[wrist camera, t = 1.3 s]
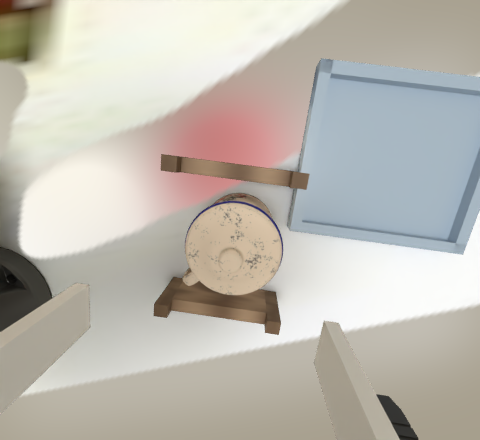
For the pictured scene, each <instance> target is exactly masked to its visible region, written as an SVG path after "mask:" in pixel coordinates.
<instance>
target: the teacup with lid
mask: <svg viewBox="0 0 480 440" xmlns="http://www.w3.org/2000/svg"><path fill="white" fill-rule="evenodd" d="M185 253H186V258H187V262H188V265H189V267H190V268H189V269H188V270H187V271H186V273H185V274H184V276H183V282H184V283H185V284H186V285H188V286H191V285H193V284H195V283H197V282H198V281H200V282H201V283H202V284H204V285H205V286H206V287H208V288H210V289H211V290H213V291H216V292H219V293H222V294H226V295H243V294H248V293H251V292H254V291H256V290H258V289H260V288H261V287H263V286H264V285H266V284H267V283H268V282H269V281H270V280H271V279H272V278H273V276H274V275H275V273H276V272H277V270H278V268H279V266H280V264H281V260H282V256H283V242H282V237H281V234H280V231H279V229H278V227H277V225H276V224H275V222H274V221H273V219H272V216H271V214H270V212H269V210H268V208H267V207H266V206H265V205H264V204H263V203H262V202H261V201H260V200H259V199H257V198H255V197H253V196H251V195H247V194H242V193H236V194H230V195H227V196H224V197H222V198H220V199H219V200H218V201H216V202H215V203H214V204H213V205H212V206H210V207H208V208H206V209H205V210H203V211H202V212H201V213H200V214H199V215H198V216H197V217H196V218H195V219H194V220H193V222H192V223H191V225H190V227H189V229H188V232H187V235H186V240H185Z"/></svg>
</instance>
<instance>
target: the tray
mask: <svg viewBox="0 0 480 440" xmlns="http://www.w3.org/2000/svg"><path fill="white" fill-rule="evenodd" d="M297 172H301V173H308V174H310V175H309V180H308V185H307V190H304V189H296V188H294V193H293V199H292V204H291V210H290V215H289V221H288V228H289V230H290V231H297V232H304V233H311V234H318V235H325V236H333V237H340V238H347V239H354V240H362V241H369V242H376V243H383V244H390V245H398V246H405V247H412V248H419V249H426V250H434V251H441V252H448V253H455V254H463V253H464V250H465V248H466V245H467V242H468V240H469V237H470V234H471V232H472V229H473V226H474V223H475V221H476V218H477V215H478V213H479V210H480V77H475V76H467V75H457V74H449V73H441V72H432V71H423V70H415V69H407V68H398V67H390V66H381V65H373V64H364V63H355V62H347V61H338V60H330V59H321V60H320V62H319V63H318V65H317V67H316V72H315V77H314V83H313V88H312V94H311V100H310V105H309V110H308V116H307V121H306V127H305V132H304V138H303V143H302V149H301V154H300V160H299V166H298V171H297Z"/></svg>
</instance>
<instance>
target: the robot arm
mask: <svg viewBox="0 0 480 440" xmlns="http://www.w3.org/2000/svg"><path fill="white" fill-rule="evenodd" d="M89 328H90V301H89V285H86V284H79V283H75V284H74V285H72V286H71V287H69V288H67V289H66V290H64V291H63V292H61V293H60V294H58V295H57V296H55V297H54V298H52V299H51V295H50V292H49V289H48V286H47V284H46V282H45V280H44V279H43V277H42V276H41V274H40V273H39V272H38V270H37V269H36V268H35V267H34V266H33V265H32V264H31V263H30V262H28V261H27V260H26V259H24V258H23V257H21V256H20V255H18V254H16V253H14V252H12V251H10V250H7V249H4V248H1V247H0V415H1V414H2V413H3V412H4V411H5V410H6V409H7V408H8V407H9V406H10V405H11V404H12V403H13V402H14V401H15V400H16V399H17V398H18V397H19V396H20V395H21V394H22V393H23V392H24V391H25V390H26V389H27V388H28V387H30V386H31V385H32V384H33V383H34V382H35V381H36V380H37V379H38V378H39V377H40V376H41V375H42V374H43V373H44V372H45V371H46V370H47V369H48V368H49V367H50V366H51V365H52V364H53V363H54V362H55V361H56V360H57V359H58V358H59V357H60V356H61V355H62V354H63V353H64V352H65V351H66V350H67V349H68V348H69V347H71V346H72V345H73V344H74V343H75V342H76V341H77V340H78V339H79V338H80V337H81V336H82V335H83V334H84V333H85V332H86V331H87V330H88V329H89ZM314 365H315V368H316V372H317V375H318V378H319V382H320V385H321V389H322V392H323V395H324V399H325V402H326V405H327V409H328V412H329V415H330V419H331V422H332V425H333V429H334V432H335V436H336V439H337V440H418V437H417V435H416V434H415V432H414V430H413V429H412V428H411V427H410V424H409V422H408V420H407V419H406V417H405V415H404V414H403V412H402V411H401V409H400V408H399V407H398V406H397V405H396V404H395V403H394V402H393V401H392V399H391V398H390V397H389V396H384V395H377V394H375V392H374V390H373V388H372V386H371V384H370V382H369V380H368V378H367V377H366V375H365V373H364V371H363V369H362V367H361V365H360V363H359V361H358V360H357V358H356V356H355V354H354V352H353V350H352V348H351V346H350V345H349V342H348V341H347V339H346V337H345V335H344V333H343V331H342V329H341V327H340V325H339V323H335V322H329V321H324V323H323V327H322V331H321V335H320V339H319V344H318V348H317V352H316V356H315V360H314Z"/></svg>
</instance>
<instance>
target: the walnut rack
mask: <svg viewBox="0 0 480 440" xmlns="http://www.w3.org/2000/svg"><path fill="white" fill-rule="evenodd" d="M161 170H162V171H169V172H184V173H191V174H199V175H206V176H214V177H221V178H229V179H236V180H244V181H251V182H259V183H266V184H274V185H281V186H289V187H290V188H296V189H304V190H307V185H308V180H309V175H310V174H308V173H301V172H293V171H286V170H278V169H271V168H263V167H255V166H248V165H240V164H232V163H225V162H217V161H210V160H202V159H194V158H187V157H179V156H171V155H163V154H162V156H161ZM171 310H172V311H179V312H186V313H192V314H199V315H206V316H212V317H219V318H226V319H232V320H239V321H246V322H252V323H259V324H265V333H270V334H277V335H279V330H280V325H281V321H280V315H279V309H278V303H277V297H276V292H272V291H265V290H256V291H254V292H251V293H248V294H243V295H226V294H222V293H219V292H216V291H213V290H211V289H210V288H208V287H206V286H205V285H204V284H202V283H201V282H200V281H198V282H197V283H195V284H193V285H191V286H188V285H186V284H185V283H184V282H183V278H176V277H173V279H172V280H171V282H170V283H169V284H168V286H167V287H166V288H165V290H164V291H163V293H162V294H161V295H160V297H159V298H158V300H157V301H156V302H155V304H154V316H158V317H165V318H167V317H168V315H169V313H170V312H171Z"/></svg>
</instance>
